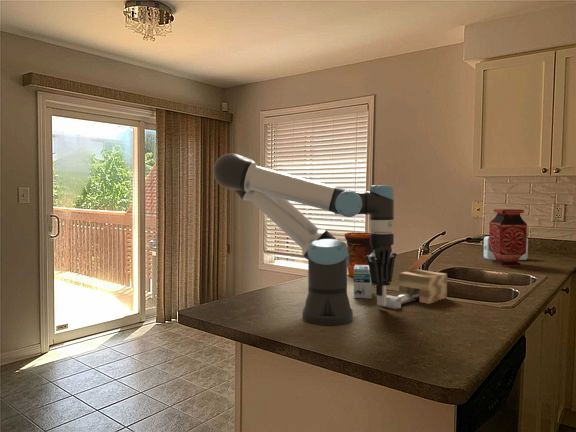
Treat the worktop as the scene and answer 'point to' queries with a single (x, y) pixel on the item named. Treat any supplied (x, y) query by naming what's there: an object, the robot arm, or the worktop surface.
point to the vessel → (358, 249)
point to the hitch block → (424, 285)
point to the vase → (507, 237)
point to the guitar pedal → (489, 254)
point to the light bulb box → (362, 282)
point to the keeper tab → (419, 262)
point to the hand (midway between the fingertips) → (381, 304)
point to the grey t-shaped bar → (401, 299)
